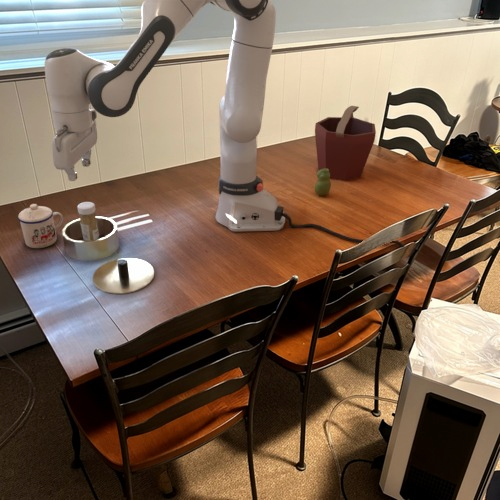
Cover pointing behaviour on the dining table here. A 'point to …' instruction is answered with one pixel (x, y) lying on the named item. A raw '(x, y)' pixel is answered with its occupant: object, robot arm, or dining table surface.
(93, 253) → the pan
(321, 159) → the bucket
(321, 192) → the green figurine
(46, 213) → the teacup with lid
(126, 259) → the pan lid
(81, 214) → the sprinkles bottle
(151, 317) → the dining table surface
